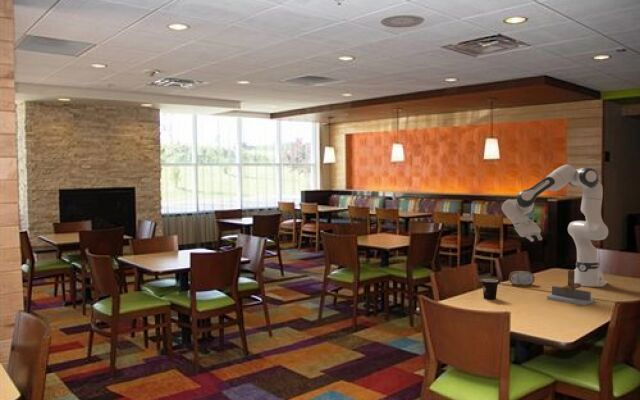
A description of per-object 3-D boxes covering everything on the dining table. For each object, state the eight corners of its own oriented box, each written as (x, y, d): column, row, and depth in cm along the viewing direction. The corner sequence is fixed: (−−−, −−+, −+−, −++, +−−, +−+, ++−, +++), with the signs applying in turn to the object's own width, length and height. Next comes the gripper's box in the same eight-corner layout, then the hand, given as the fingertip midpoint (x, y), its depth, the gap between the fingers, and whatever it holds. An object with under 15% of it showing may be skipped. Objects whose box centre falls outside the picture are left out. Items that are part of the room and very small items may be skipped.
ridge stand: (558, 295, 300) (558, 284, 299) (595, 301, 284) (595, 290, 284) (547, 298, 291) (547, 287, 291) (584, 305, 276) (584, 294, 276)
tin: (533, 284, 329) (533, 271, 328) (535, 285, 326) (535, 272, 325) (508, 284, 330) (508, 270, 330) (509, 285, 327) (509, 271, 327)
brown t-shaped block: (576, 286, 294) (576, 268, 294) (580, 287, 293) (581, 269, 292) (560, 291, 283) (561, 272, 282) (565, 291, 281) (565, 273, 280)
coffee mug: (499, 300, 288) (499, 282, 287) (482, 299, 290) (482, 281, 289) (496, 295, 299) (496, 278, 299) (480, 295, 301) (480, 277, 300)
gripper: (516, 220, 311) (531, 238, 304) (533, 218, 325) (549, 235, 318) (509, 227, 315) (524, 245, 308) (526, 224, 328) (541, 242, 321)
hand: (537, 240), depth 313 cm, fingers open, 8 cm apart
